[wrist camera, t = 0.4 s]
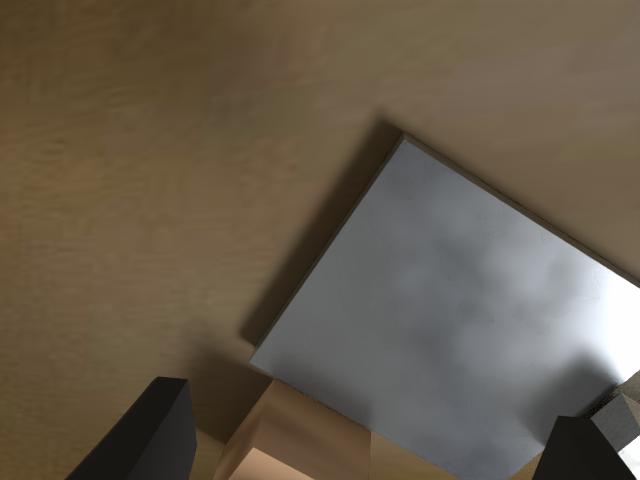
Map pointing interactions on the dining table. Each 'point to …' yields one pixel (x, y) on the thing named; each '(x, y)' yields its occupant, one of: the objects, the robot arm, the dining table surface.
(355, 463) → the block
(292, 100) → the dining table surface
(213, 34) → the dining table surface
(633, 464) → the square end dumbbell
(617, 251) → the dining table surface
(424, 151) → the grey square baseplate
